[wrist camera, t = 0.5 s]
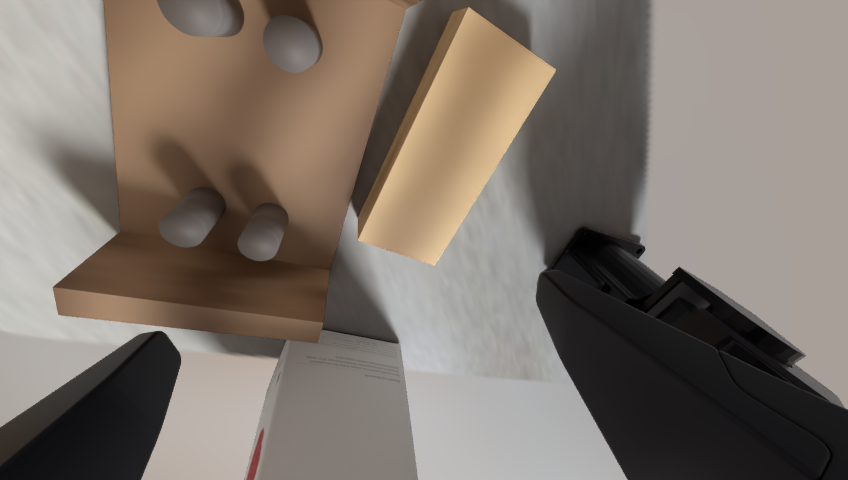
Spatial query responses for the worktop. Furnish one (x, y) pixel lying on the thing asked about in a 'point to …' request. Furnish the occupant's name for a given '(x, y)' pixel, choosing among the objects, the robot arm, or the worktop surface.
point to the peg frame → (233, 159)
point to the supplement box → (335, 413)
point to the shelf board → (451, 137)
